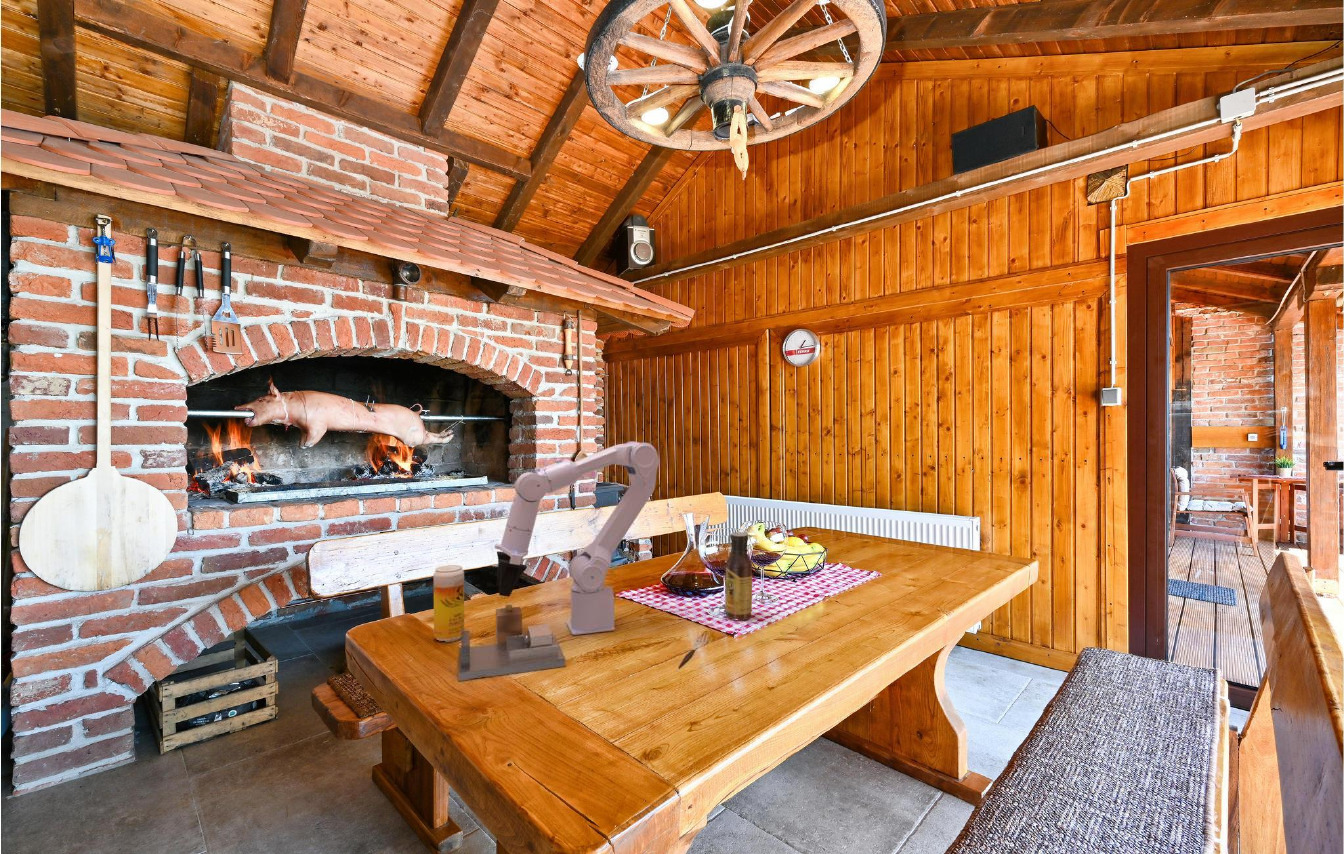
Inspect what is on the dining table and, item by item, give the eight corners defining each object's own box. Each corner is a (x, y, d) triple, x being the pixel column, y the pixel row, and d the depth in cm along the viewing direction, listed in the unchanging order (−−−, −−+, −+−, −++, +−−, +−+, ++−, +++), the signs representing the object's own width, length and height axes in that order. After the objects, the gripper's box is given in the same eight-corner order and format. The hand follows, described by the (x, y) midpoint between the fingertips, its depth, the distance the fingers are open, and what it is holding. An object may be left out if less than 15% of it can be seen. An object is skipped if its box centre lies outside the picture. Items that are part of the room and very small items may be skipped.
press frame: (555, 643, 124) (555, 617, 124) (564, 666, 113) (564, 637, 113) (458, 655, 118) (458, 628, 118) (458, 681, 106) (458, 650, 106)
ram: (547, 641, 120) (547, 624, 120) (552, 652, 115) (551, 634, 115) (522, 644, 119) (522, 626, 119) (525, 655, 113) (525, 637, 113)
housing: (520, 633, 130) (519, 600, 130) (522, 641, 125) (521, 607, 125) (496, 636, 128) (495, 603, 128) (497, 644, 123) (497, 610, 123)
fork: (672, 669, 112) (672, 659, 112) (697, 639, 127) (697, 630, 127) (685, 671, 111) (685, 660, 111) (709, 641, 126) (709, 631, 126)
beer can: (454, 644, 124) (453, 572, 124) (428, 641, 125) (427, 570, 125) (469, 633, 130) (469, 565, 130) (444, 631, 131) (444, 563, 131)
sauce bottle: (723, 613, 143) (723, 530, 143) (748, 612, 144) (748, 530, 143) (728, 622, 137) (728, 536, 136) (754, 621, 137) (754, 535, 137)
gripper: (498, 519, 133) (482, 579, 132) (502, 529, 119) (485, 596, 118) (530, 525, 135) (514, 584, 134) (537, 536, 121) (520, 602, 120)
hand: (503, 590), depth 126 cm, fingers open, 7 cm apart
